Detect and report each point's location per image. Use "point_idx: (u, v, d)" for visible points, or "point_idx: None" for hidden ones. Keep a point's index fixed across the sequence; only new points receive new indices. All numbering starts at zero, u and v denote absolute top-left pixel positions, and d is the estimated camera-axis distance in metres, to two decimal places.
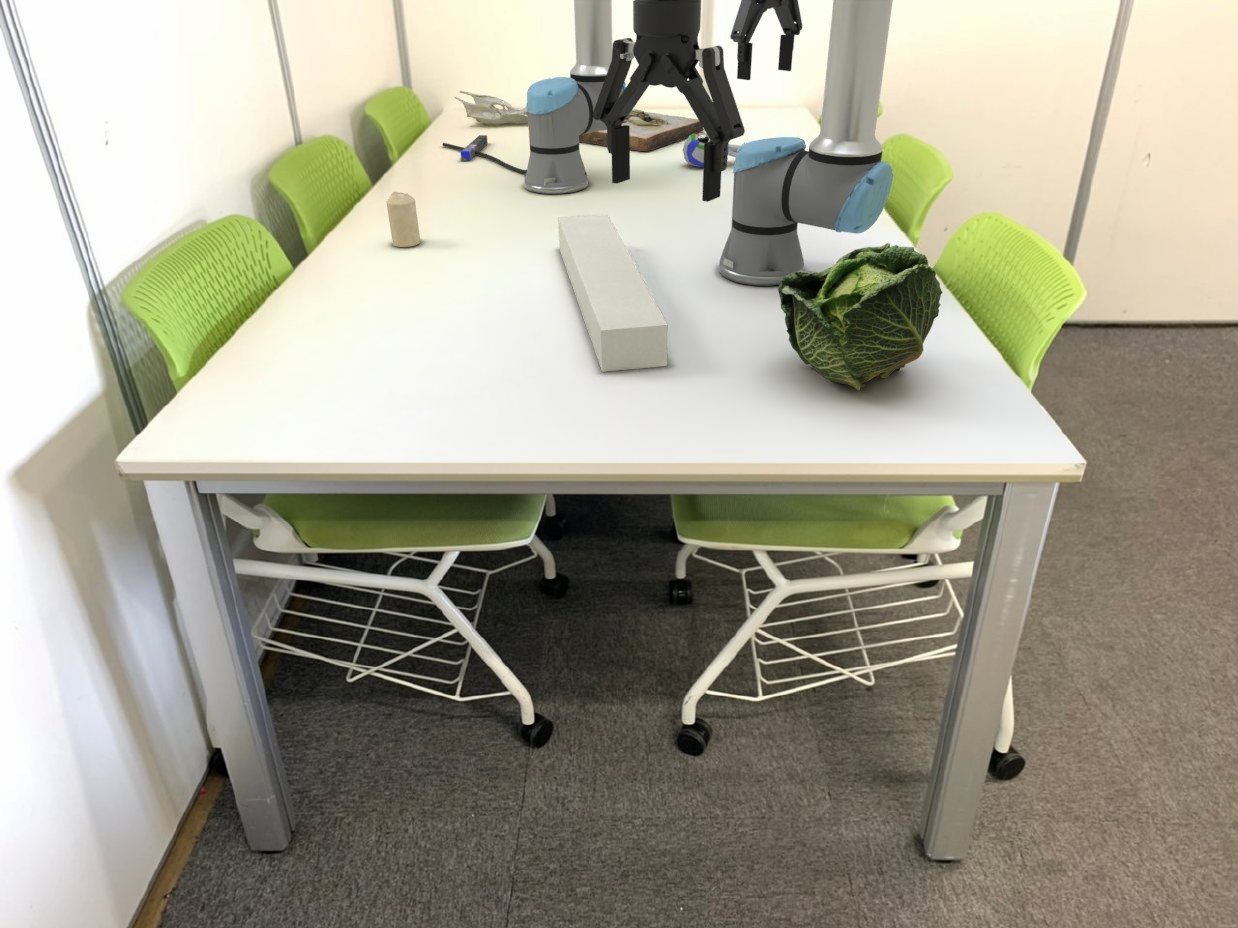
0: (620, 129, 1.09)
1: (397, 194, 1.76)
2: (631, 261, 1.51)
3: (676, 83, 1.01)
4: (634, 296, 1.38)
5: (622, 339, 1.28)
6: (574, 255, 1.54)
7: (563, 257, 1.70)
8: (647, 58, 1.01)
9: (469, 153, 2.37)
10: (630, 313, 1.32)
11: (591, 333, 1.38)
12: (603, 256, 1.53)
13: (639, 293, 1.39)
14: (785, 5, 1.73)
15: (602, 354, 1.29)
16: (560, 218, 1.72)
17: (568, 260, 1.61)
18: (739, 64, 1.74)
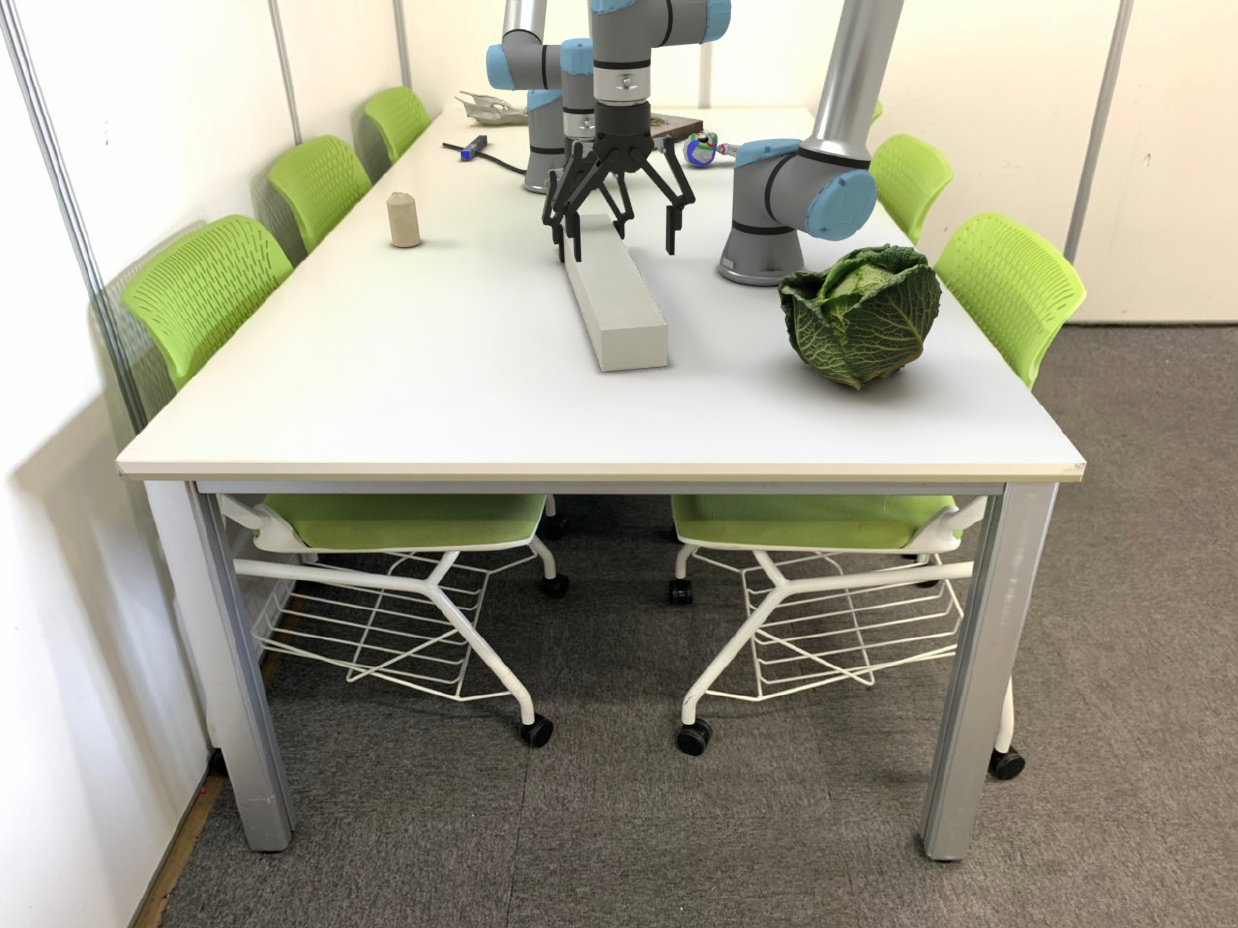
0: None
1: (397, 194, 1.76)
2: (631, 261, 1.51)
3: (644, 168, 1.22)
4: (634, 296, 1.38)
5: (622, 339, 1.28)
6: None
7: None
8: (616, 153, 1.20)
9: (469, 153, 2.37)
10: (630, 313, 1.32)
11: (591, 333, 1.38)
12: (603, 256, 1.53)
13: (639, 293, 1.39)
14: (602, 190, 1.62)
15: (602, 354, 1.29)
16: None
17: (568, 260, 1.61)
18: None
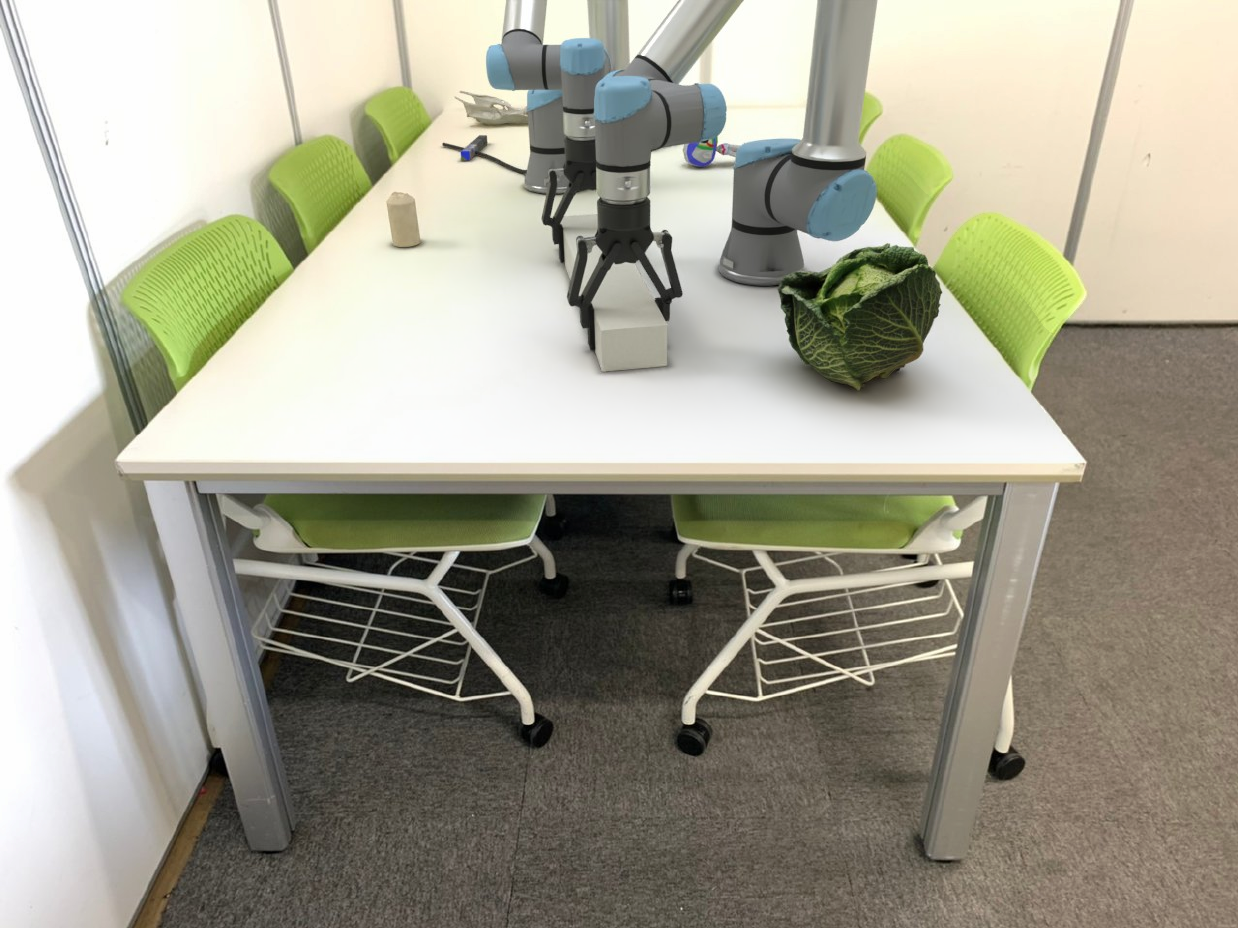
0: (593, 308, 1.33)
1: (397, 194, 1.76)
2: None
3: (644, 259, 1.29)
4: (634, 296, 1.38)
5: (622, 339, 1.28)
6: (574, 255, 1.54)
7: None
8: (618, 246, 1.27)
9: (469, 153, 2.37)
10: (630, 313, 1.32)
11: None
12: None
13: (639, 293, 1.39)
14: None
15: (602, 354, 1.29)
16: None
17: (568, 260, 1.61)
18: None
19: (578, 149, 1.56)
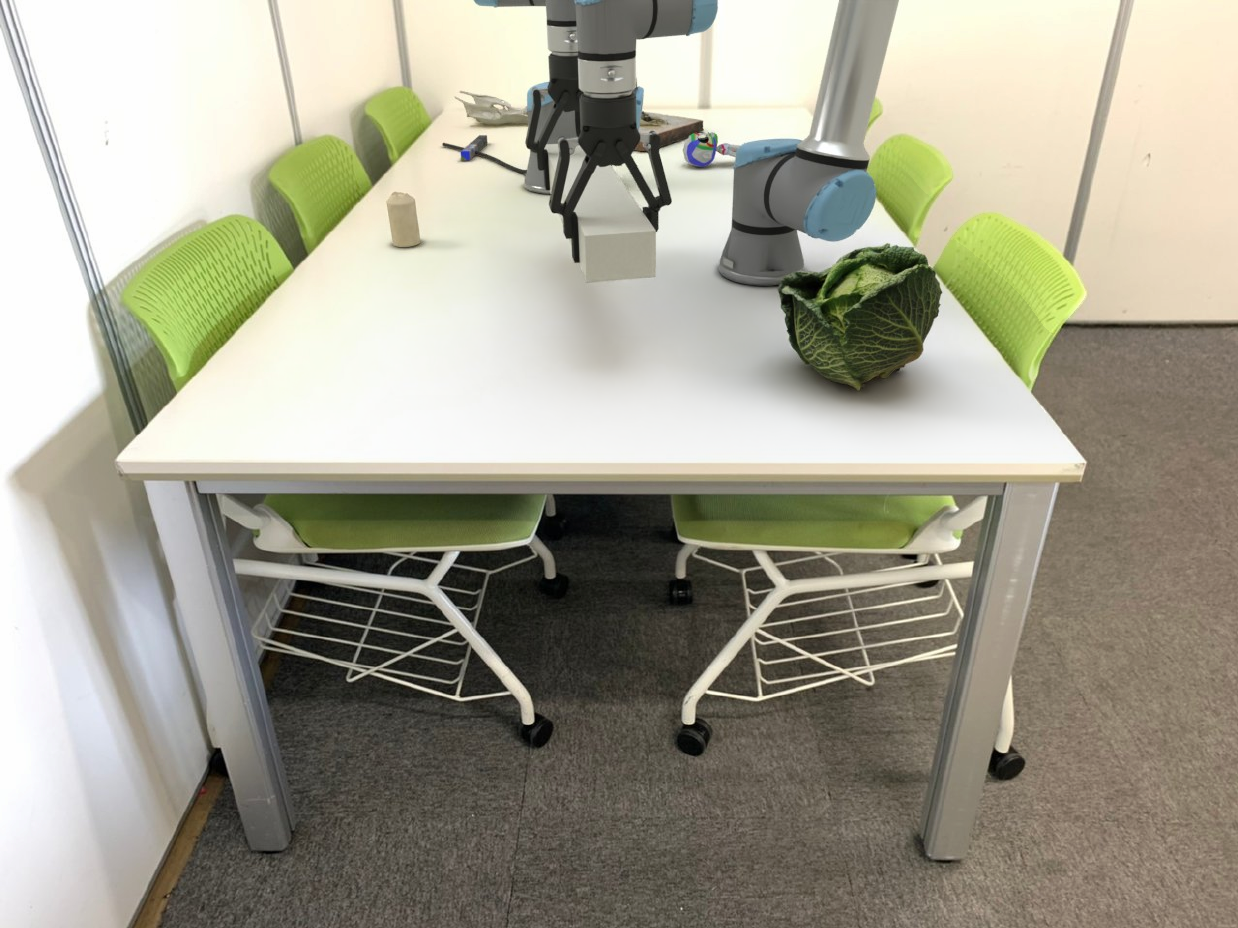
0: (576, 216, 1.25)
1: (397, 194, 1.76)
2: (618, 179, 1.43)
3: (630, 161, 1.21)
4: (620, 207, 1.30)
5: (607, 246, 1.21)
6: None
7: None
8: (602, 146, 1.19)
9: (469, 153, 2.37)
10: (615, 221, 1.24)
11: None
12: None
13: (626, 205, 1.31)
14: None
15: (586, 263, 1.21)
16: (545, 146, 1.64)
17: None
18: None
19: (562, 65, 1.48)
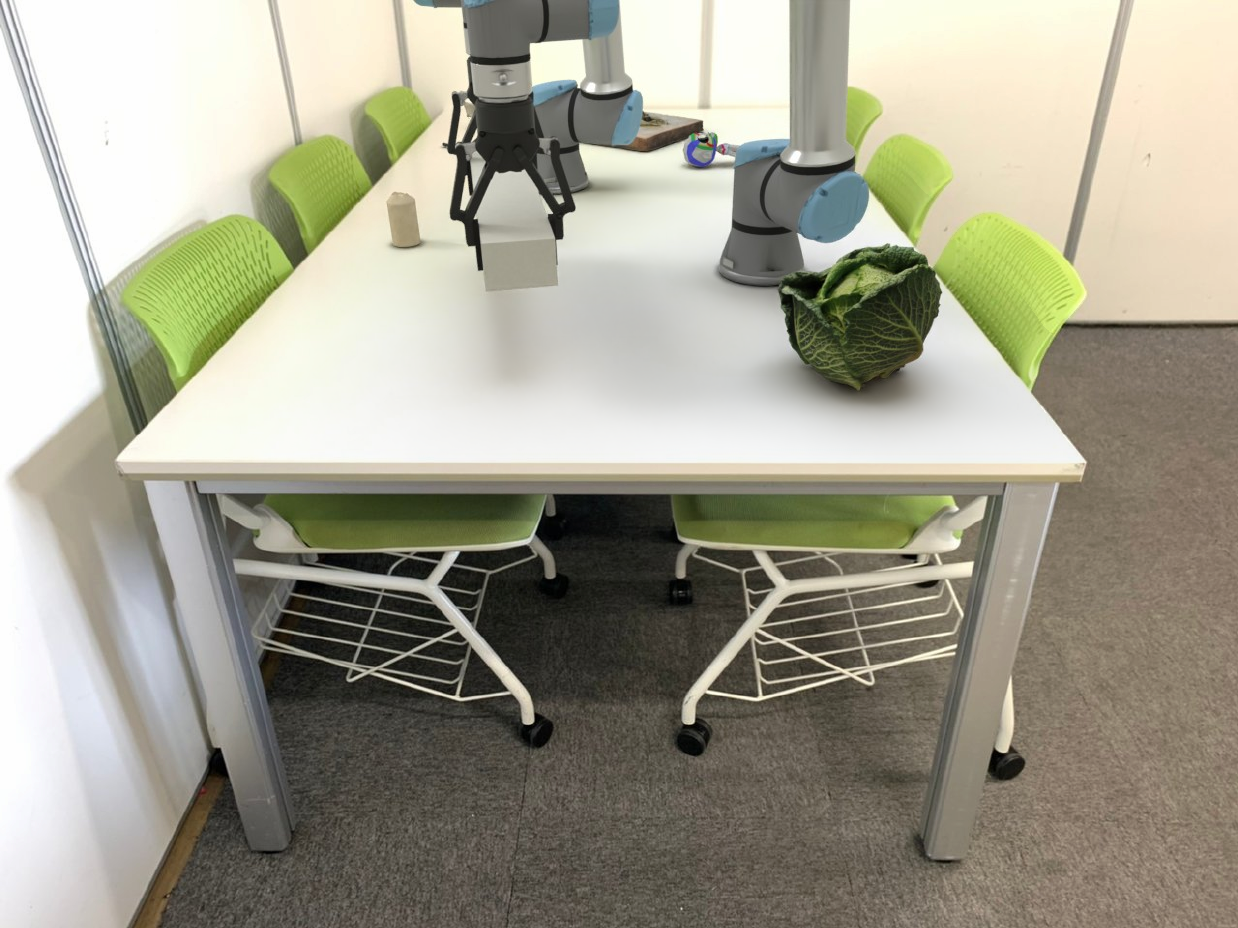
0: None
1: (397, 194, 1.76)
2: (534, 185, 1.40)
3: (530, 167, 1.18)
4: (527, 214, 1.27)
5: (505, 254, 1.18)
6: (474, 181, 1.43)
7: None
8: (499, 151, 1.16)
9: None
10: (517, 229, 1.21)
11: None
12: (505, 181, 1.43)
13: (533, 211, 1.28)
14: None
15: (484, 271, 1.18)
16: None
17: None
18: None
19: None
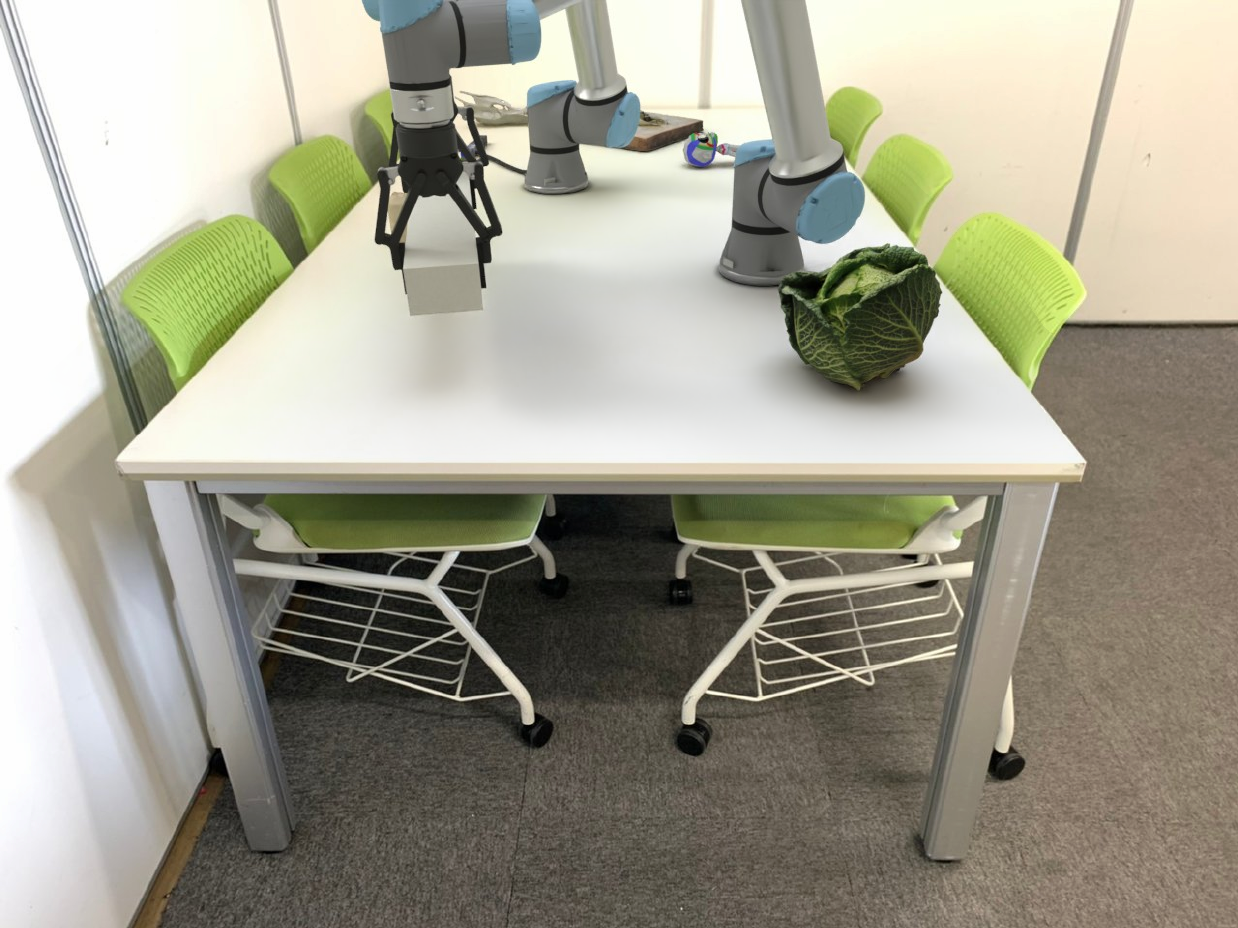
0: (404, 247, 1.22)
1: (397, 194, 1.76)
2: None
3: (453, 192, 1.18)
4: (455, 237, 1.26)
5: (428, 279, 1.17)
6: None
7: None
8: (421, 176, 1.16)
9: None
10: (442, 253, 1.21)
11: None
12: (442, 201, 1.42)
13: (463, 234, 1.28)
14: None
15: (408, 296, 1.18)
16: None
17: None
18: None
19: None
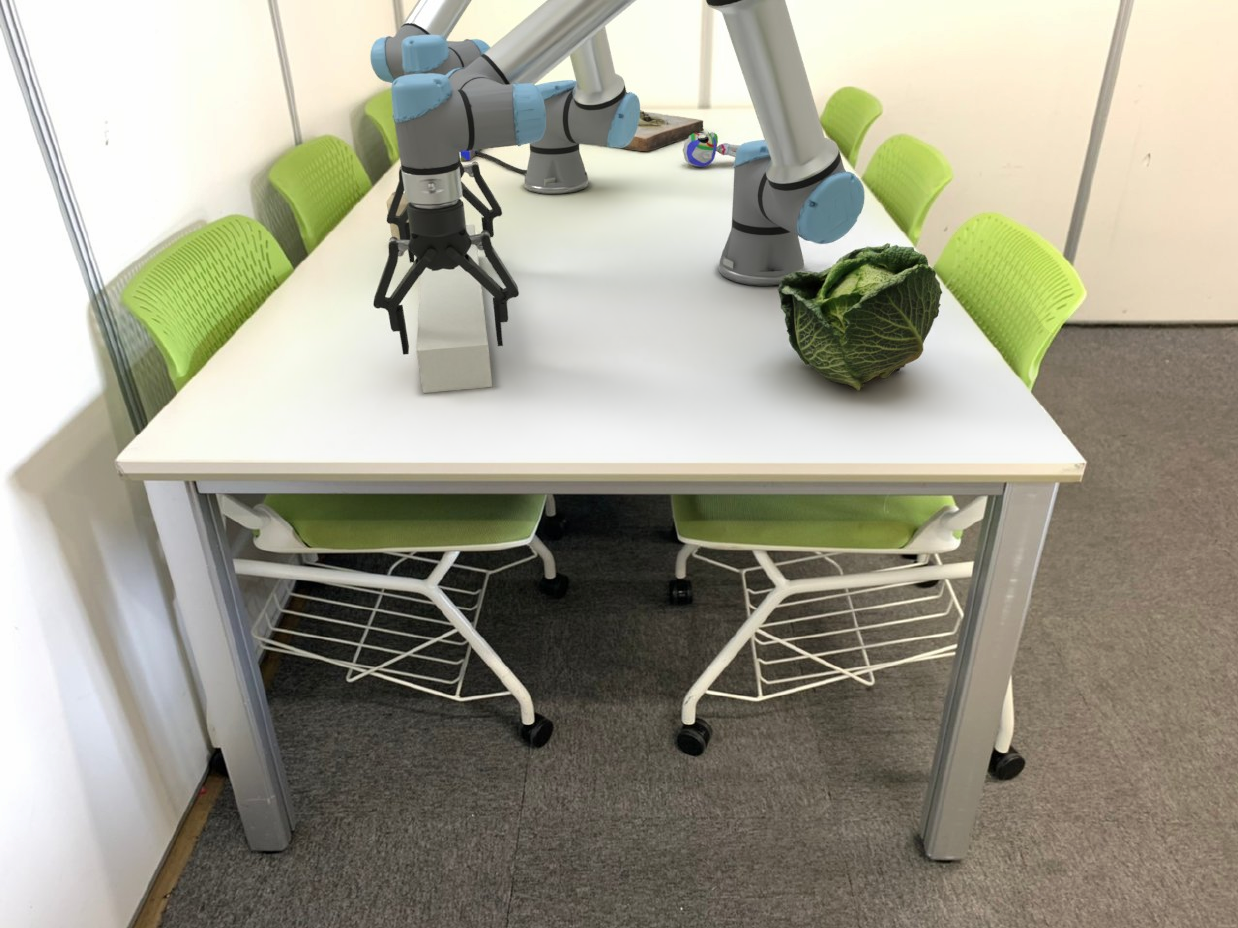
0: (402, 310, 1.26)
1: None
2: None
3: (462, 265, 1.23)
4: (465, 313, 1.33)
5: (440, 359, 1.23)
6: None
7: None
8: (431, 252, 1.21)
9: (469, 153, 2.37)
10: (453, 332, 1.27)
11: None
12: (451, 270, 1.48)
13: (472, 310, 1.34)
14: None
15: (421, 375, 1.24)
16: None
17: None
18: None
19: None
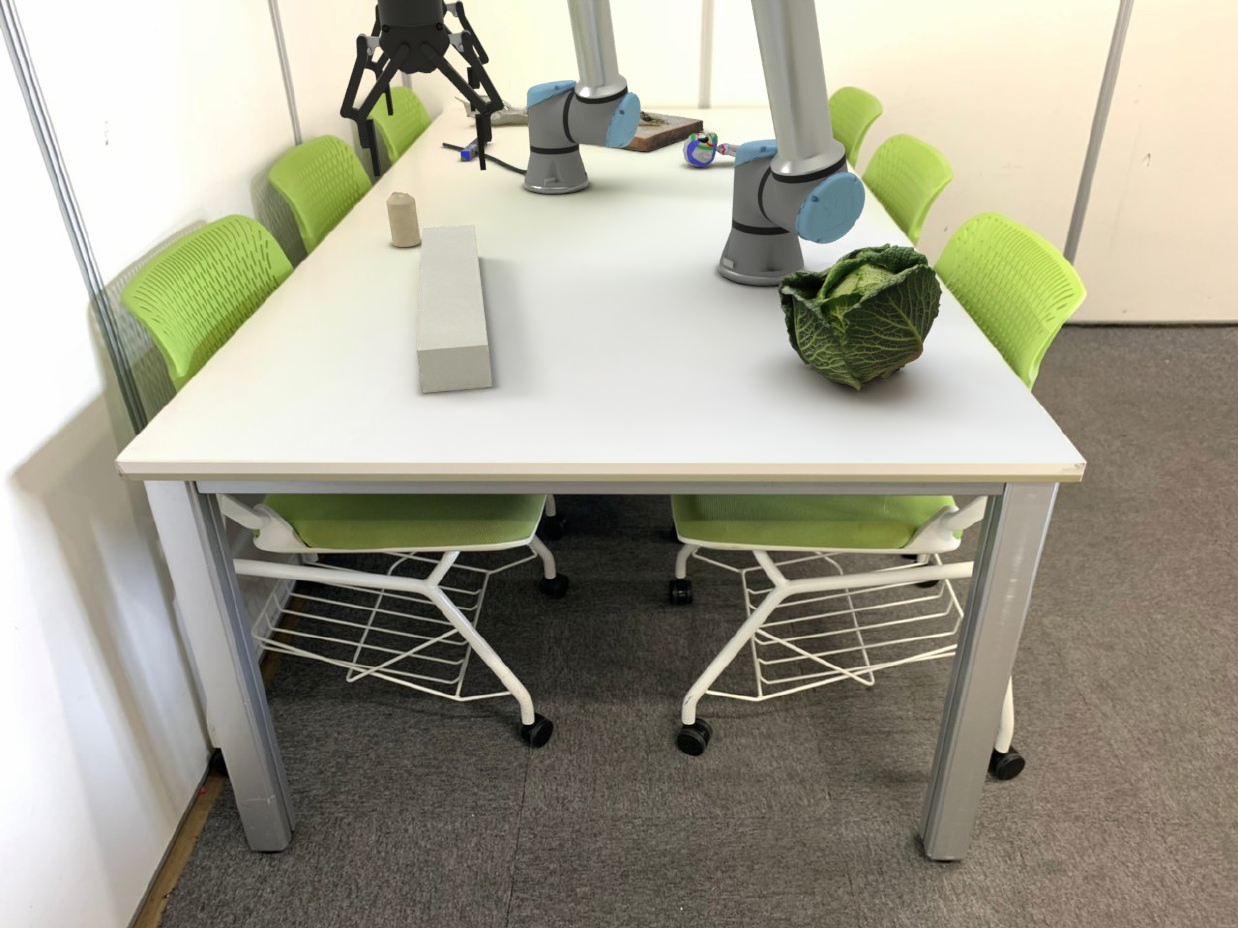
0: (372, 123, 1.13)
1: (397, 194, 1.76)
2: (478, 275, 1.46)
3: (439, 68, 1.10)
4: (465, 313, 1.33)
5: (440, 359, 1.23)
6: (421, 269, 1.49)
7: None
8: (404, 48, 1.08)
9: (469, 153, 2.37)
10: (453, 332, 1.27)
11: None
12: (451, 270, 1.48)
13: (472, 310, 1.34)
14: None
15: (421, 375, 1.24)
16: (424, 229, 1.67)
17: None
18: None
19: None
